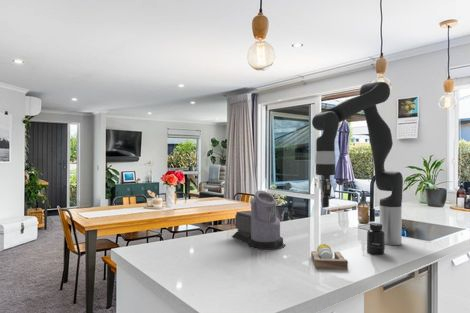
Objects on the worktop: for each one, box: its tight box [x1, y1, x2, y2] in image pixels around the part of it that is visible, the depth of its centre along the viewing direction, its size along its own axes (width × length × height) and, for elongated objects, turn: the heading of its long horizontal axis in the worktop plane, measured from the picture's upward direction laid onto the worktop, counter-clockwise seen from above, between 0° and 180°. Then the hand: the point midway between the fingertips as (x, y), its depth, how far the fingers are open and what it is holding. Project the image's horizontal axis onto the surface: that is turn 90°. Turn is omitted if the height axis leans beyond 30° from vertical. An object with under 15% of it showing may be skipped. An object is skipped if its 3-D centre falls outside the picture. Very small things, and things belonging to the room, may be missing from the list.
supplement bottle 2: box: [366, 222, 386, 256], centre depth 134 cm, size 7×7×12 cm
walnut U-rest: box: [310, 250, 349, 271], centre depth 121 cm, size 13×11×3 cm
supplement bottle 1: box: [316, 243, 334, 259], centre depth 125 cm, size 5×5×10 cm
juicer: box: [231, 190, 287, 251], centre depth 152 cm, size 30×16×24 cm, turn 32°
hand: (325, 206), depth 127 cm, fingers closed
